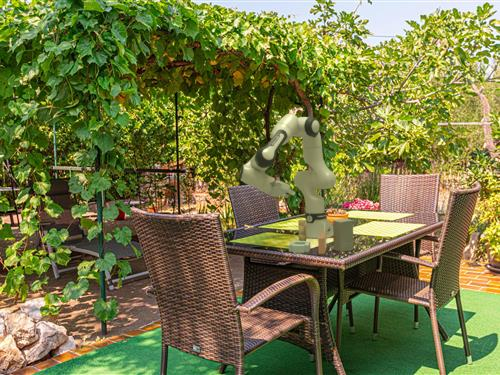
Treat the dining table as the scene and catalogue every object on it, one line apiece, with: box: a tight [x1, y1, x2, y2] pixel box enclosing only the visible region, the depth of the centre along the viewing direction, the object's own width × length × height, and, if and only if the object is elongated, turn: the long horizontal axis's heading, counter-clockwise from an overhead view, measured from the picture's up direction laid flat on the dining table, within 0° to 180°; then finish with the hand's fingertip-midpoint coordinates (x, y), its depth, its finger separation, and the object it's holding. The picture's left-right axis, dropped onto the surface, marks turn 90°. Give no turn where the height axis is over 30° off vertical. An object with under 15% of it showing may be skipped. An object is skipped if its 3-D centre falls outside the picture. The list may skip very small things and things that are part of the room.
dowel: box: [297, 219, 307, 242], centre depth 270 cm, size 4×4×14 cm
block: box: [288, 240, 311, 254], centre depth 260 cm, size 10×14×4 cm
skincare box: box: [332, 218, 354, 253], centre depth 257 cm, size 8×7×16 cm
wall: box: [317, 232, 327, 255], centre depth 257 cm, size 3×18×8 cm, turn 169°
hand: (291, 195), depth 266 cm, fingers open, 8 cm apart
